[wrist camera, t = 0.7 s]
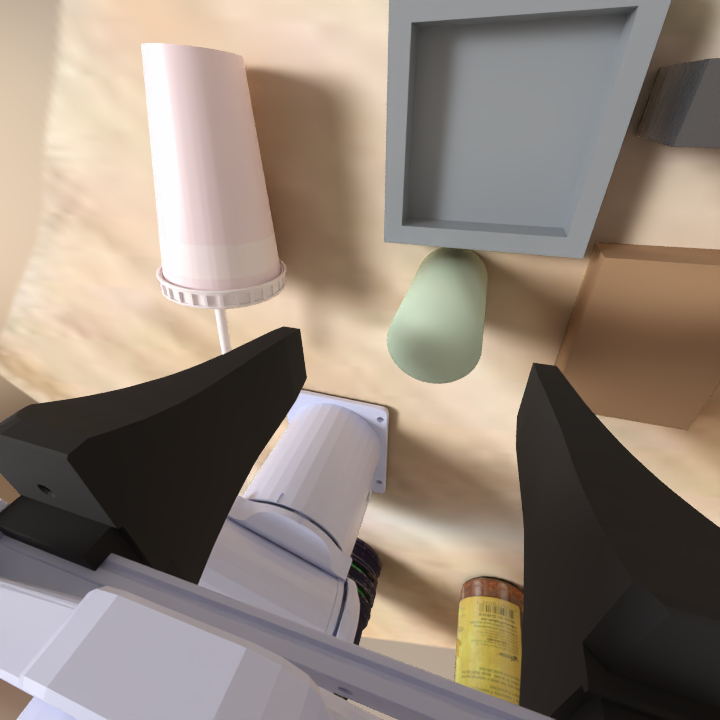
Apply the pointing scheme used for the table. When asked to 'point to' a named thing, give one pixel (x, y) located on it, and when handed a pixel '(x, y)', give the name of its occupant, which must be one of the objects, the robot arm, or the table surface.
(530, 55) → the slate tray
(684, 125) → the post
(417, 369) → the sage dowel
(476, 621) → the sauce bottle
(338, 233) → the table surface
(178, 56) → the smoothie
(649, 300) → the tan rectangular block
